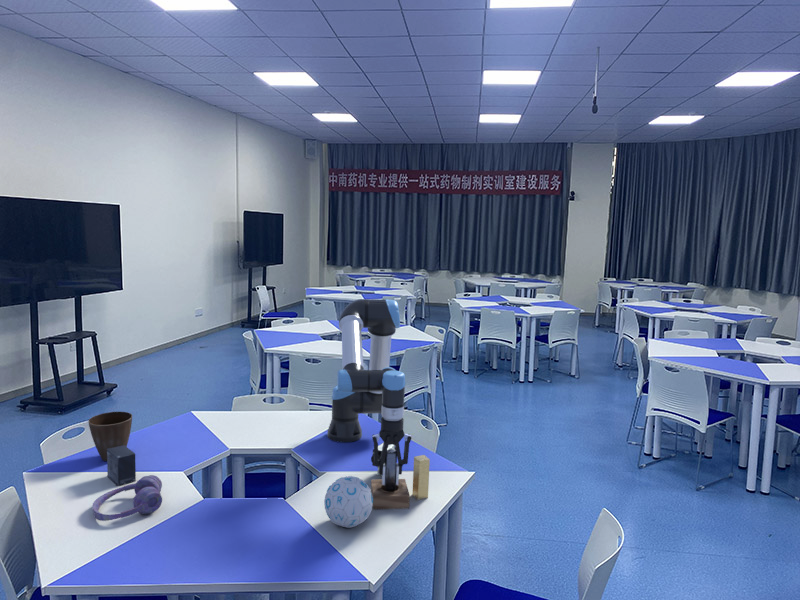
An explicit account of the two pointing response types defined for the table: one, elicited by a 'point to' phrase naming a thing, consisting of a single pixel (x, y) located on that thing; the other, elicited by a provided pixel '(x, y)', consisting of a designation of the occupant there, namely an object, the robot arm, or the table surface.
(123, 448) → the small box
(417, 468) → the square bit
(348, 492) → the puzzle ball
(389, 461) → the cylinder
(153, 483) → the headphones
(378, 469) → the pneumatic valve
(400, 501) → the bore block
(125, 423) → the plant pot
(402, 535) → the table surface
